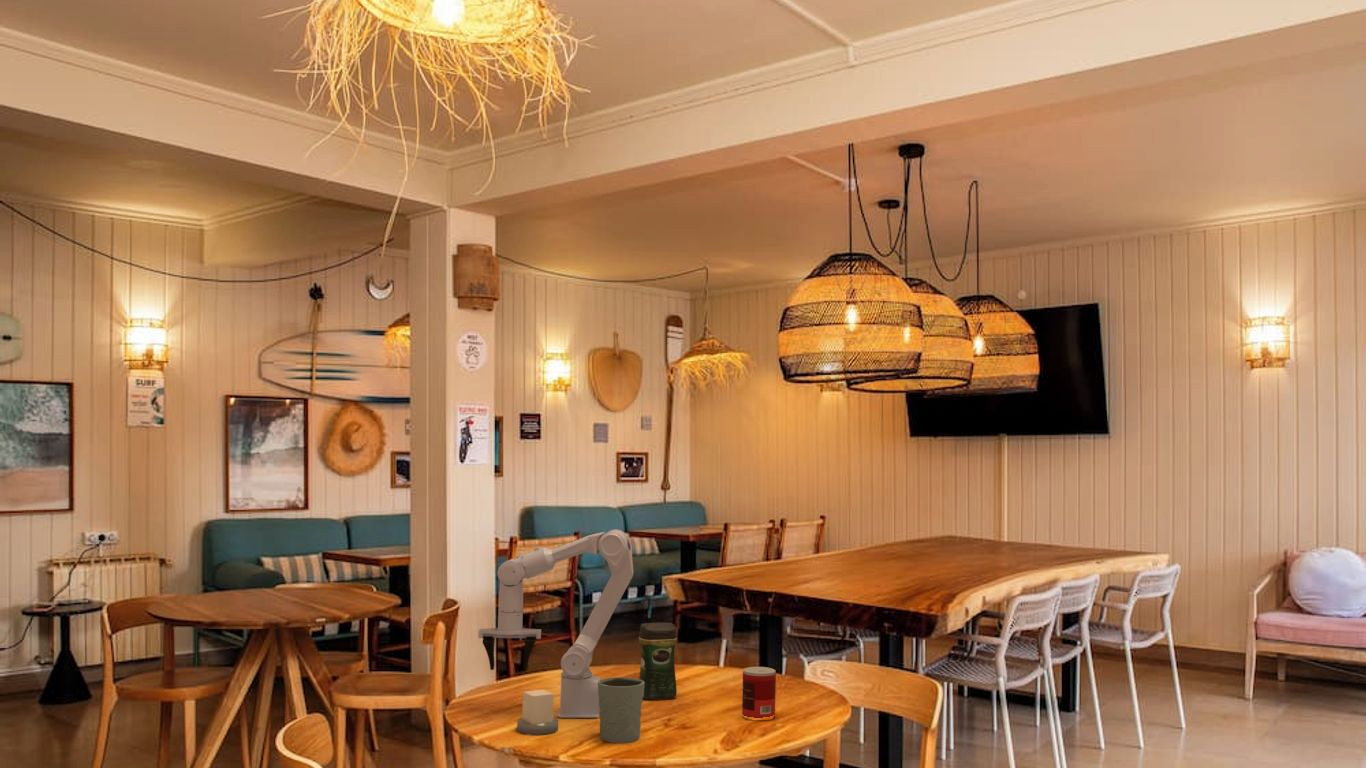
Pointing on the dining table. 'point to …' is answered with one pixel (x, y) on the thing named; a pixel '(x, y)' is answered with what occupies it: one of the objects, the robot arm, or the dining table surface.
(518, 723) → the slate trivet
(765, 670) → the canned food
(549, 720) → the cream block
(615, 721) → the green cup
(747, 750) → the dining table surface
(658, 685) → the coffee jar
